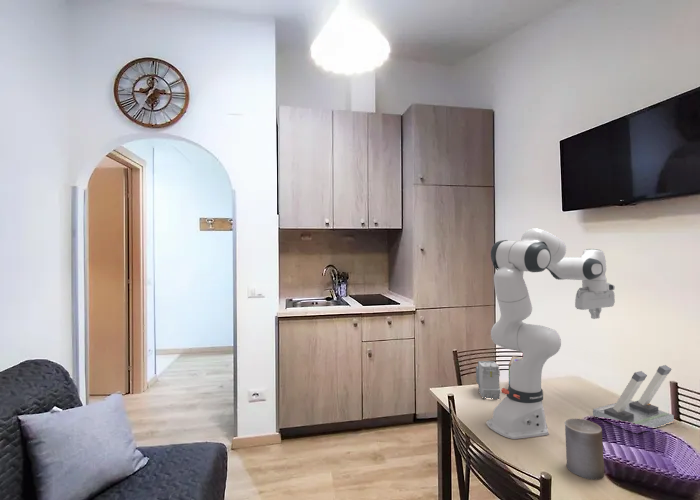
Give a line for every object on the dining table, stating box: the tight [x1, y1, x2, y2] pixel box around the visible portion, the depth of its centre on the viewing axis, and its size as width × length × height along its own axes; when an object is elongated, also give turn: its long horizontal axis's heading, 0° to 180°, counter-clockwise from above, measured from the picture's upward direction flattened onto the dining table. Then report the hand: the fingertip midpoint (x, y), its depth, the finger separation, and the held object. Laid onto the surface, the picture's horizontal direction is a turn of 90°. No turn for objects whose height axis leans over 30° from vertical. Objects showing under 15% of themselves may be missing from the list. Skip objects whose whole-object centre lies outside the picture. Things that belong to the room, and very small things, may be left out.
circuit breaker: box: [475, 360, 501, 400], centre depth 172 cm, size 8×14×15 cm, turn 174°
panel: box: [592, 400, 675, 427], centre depth 143 cm, size 22×16×5 cm
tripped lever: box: [637, 364, 673, 405], centre depth 142 cm, size 4×2×18 cm, turn 111°
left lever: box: [613, 370, 648, 412], centre depth 136 cm, size 4×2×18 cm, turn 111°
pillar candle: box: [564, 418, 605, 481], centre depth 111 cm, size 10×10×15 cm
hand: (595, 318), depth 158 cm, fingers closed
